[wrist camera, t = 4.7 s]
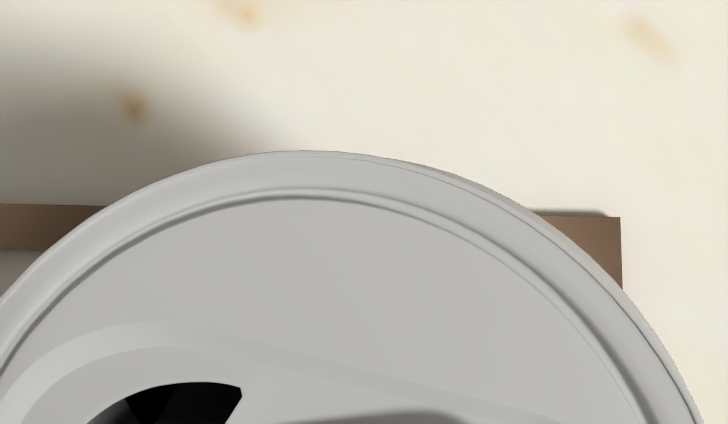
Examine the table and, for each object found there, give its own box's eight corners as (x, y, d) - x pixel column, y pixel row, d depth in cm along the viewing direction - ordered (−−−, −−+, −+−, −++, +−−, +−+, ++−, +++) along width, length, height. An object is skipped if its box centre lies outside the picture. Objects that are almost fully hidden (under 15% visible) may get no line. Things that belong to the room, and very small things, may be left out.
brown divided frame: (616, 220, 16) (620, 216, 16) (630, 681, 14) (636, 690, 13) (-295, 200, 20) (-310, 196, 20) (-397, 554, 18) (-416, 558, 17)
